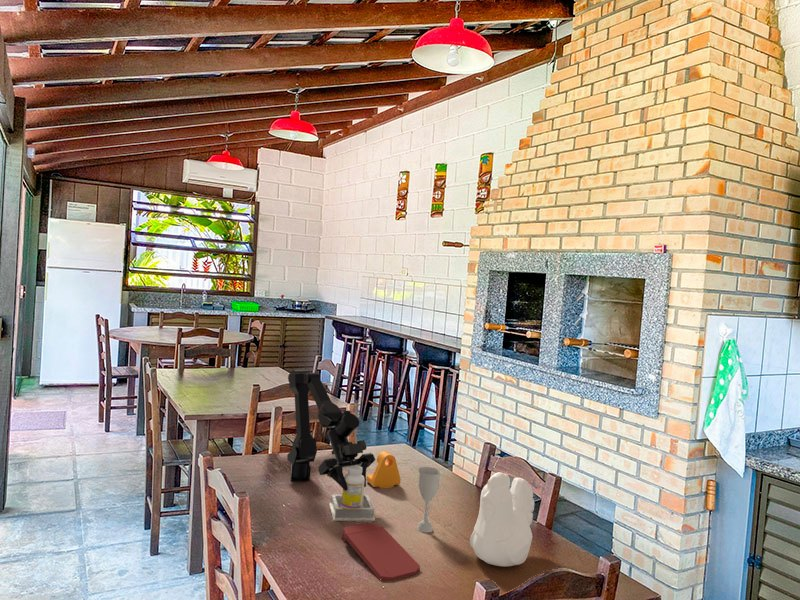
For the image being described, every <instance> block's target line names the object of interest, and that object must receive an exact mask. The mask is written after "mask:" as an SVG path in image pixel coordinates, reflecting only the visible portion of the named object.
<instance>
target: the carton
mask: <svg viewBox="0 0 800 600" xmlns="http://www.w3.org/2000/svg"><path fill="white" fill-rule="evenodd" d="M341 539H342V540H343V541H344V542H348V544H349V545H350V546H351V547H352V549H353V550H354V551H355V552H356V553H357V555H358V556H359V557H360V558H361V560H362V561H363V562H364V563H365V564H366V566H367V567H368V568H369V569H370V571H371V572H372V573H373V574H374V575H375V576H376V578H377V579H378V580H380V579H381V580H380V581H389V580H392V581H395V579H396V580H399V579H403V578H407V577H410V576H413V575H414V576H415V575H416V574H417V573H418V572H419V571H420V569H421V565H420V564H419V563H418V562H417V561H416V560H415V559H414V558H413V557H412V556H411V554H409V553H408V551H406V549H405V548H403V546H402V545H401V544H400V543H399V542H398V541H397V540H396V539H395V538H394V537H393V536H392V534H390V533H389V532H388V531H387V529H386V528H384V527H383V526H382V525H379V524H376V523H374V522H369V521H366V522H362V523H357V524H353V525H346V526H344V527H343V529H342V535H341Z"/></svg>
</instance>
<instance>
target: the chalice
mask: <svg viewBox="0 0 800 600" xmlns="http://www.w3.org/2000/svg"><path fill="white" fill-rule="evenodd" d="M418 472H419V473H418V474H419V477H418V489H419V492H420V495H421V498H422V500H423V501H425V504H424V506H423V508H424V512H423V514H424V515H423V516H424V517H423V518H422V519H421V520H420V521H419V523H417V526H416V529H417V531H419V532H421V533H432V532H434V528H433V526H432V525H433V524H432V522H431V521H430V520H429V519H428V517H429V515H430V513H429V509H430V502H431V501H433V499H434V498H435V496H436V495H437V493H438V491H439V489H440V479H441V475H442V474H443V471H442V470H441V469H439V468H436V467H430V466H422V467H419V468H418Z"/></svg>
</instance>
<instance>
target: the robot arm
mask: <svg viewBox="0 0 800 600" xmlns="http://www.w3.org/2000/svg"><path fill="white" fill-rule="evenodd" d="M287 380H288V382H289V383H288V384H289V388H290V390H291V392H292V393H293V395H294V408H295V409H294V411H295V427H296V429H295V430H296V435H295V437H294V439H293V441H292V447H291V450H289V451H288V453H287V455H286V458H287V462H288V463H290V464H291V468H290V475H289V477H290V482H308V481H310V479H309V478H311V471H312V469H311V468H312V465H311V462H312V463H314V462H315V459H316V455H317V453H318V447H317V439H316V438H315V437H313V436H312V434H311V424H310V423H311V422H310V406H309V405H310V404H309V392H310V394H311V396H312V397H313V400H314V402H315V405H316V406H317V409H318V413H317V418H318V422H319V424H320V426H321V427H322V428H330V429H329V430H326V434H325V437H324V438H325V439H326V440H327V439H329V442H330V445H331V448H332V451H331V454H332V456H333V455H334V458H326V459H324V460H323V462H321V464H319V466H318V472H319V475H320V476H325V475H326V476H327V477H330V478H331V479H332V480H334V481H335V482H336V483H337V484H338V485H339V486H340V487H341V488H342V490H343V489H344V490H345V491H347V490H348V488H347V484H346V481H345V478H344V477H345V475H344V473H343V470H344V469H343V468H344V467H345V468H346V467H347V468H348V467H349V466H353V465H354V466H360V467H362V468H363V469H362V474H361V475H363V476H364V478H365V482H364V488H366V487H367V481H366V478H367V468H369V467H370V466H371V465H372V464H373V463H374V462H375V461H376V458H375V455H374V454H373V453H371V452H368V453H364V451H366V450H367V443H366V441H365V440H364V439H362V440H357V441H356V443H353V442H352V441H350V440H349V439H348V437H350V436H351V435H352V434H353V433H354V432H355V431H356V430H357V428H358V427H359V426H360V420H359V417H358V416H356V415H355V414H354V413H352V412H351V410H344V411H342V410H341V409H340V407H338V405H337V404H335V403H334V402H333V401H332V400H331V398H330V396H329V394H328V392H327V390H326V388H325V386H324V384H323V381H322V380H321V375H320V373H319V372H311V371H310V370H309V369H292V370H291V371H290V373H289V374H288V375H287ZM363 453H364V454H363ZM359 454H361V455H360V456H359ZM358 456H359V457H358ZM357 457H358V458H357Z"/></svg>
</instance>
